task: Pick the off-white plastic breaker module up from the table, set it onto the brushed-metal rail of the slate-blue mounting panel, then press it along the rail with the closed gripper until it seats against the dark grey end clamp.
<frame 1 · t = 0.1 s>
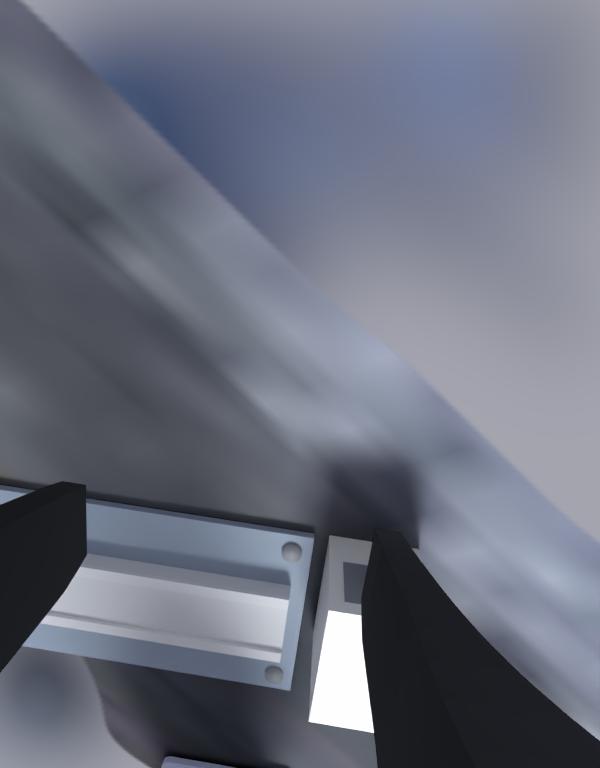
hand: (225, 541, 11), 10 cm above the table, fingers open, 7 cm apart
rail panel: (92, 579, 24), on the table
module: (363, 589, 23), on the table
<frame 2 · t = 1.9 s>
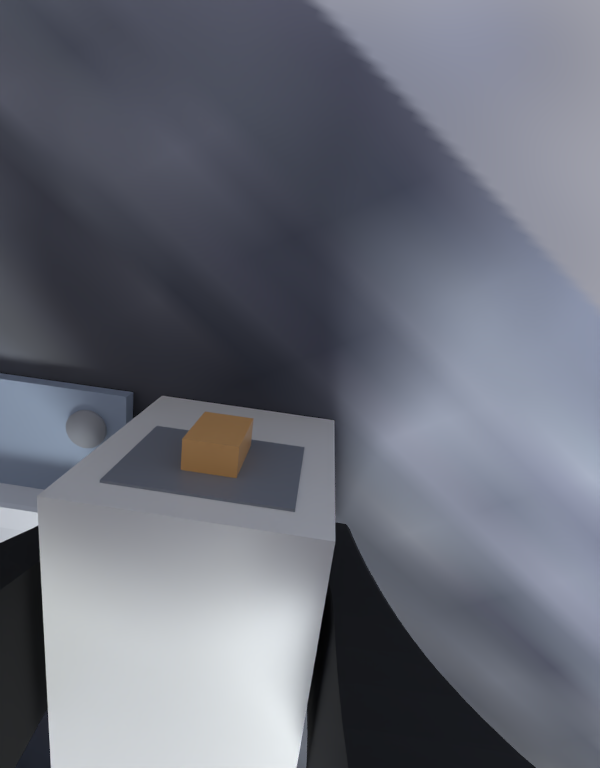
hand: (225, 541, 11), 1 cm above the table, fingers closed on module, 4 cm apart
module: (237, 509, 12), on the table, touching gripper
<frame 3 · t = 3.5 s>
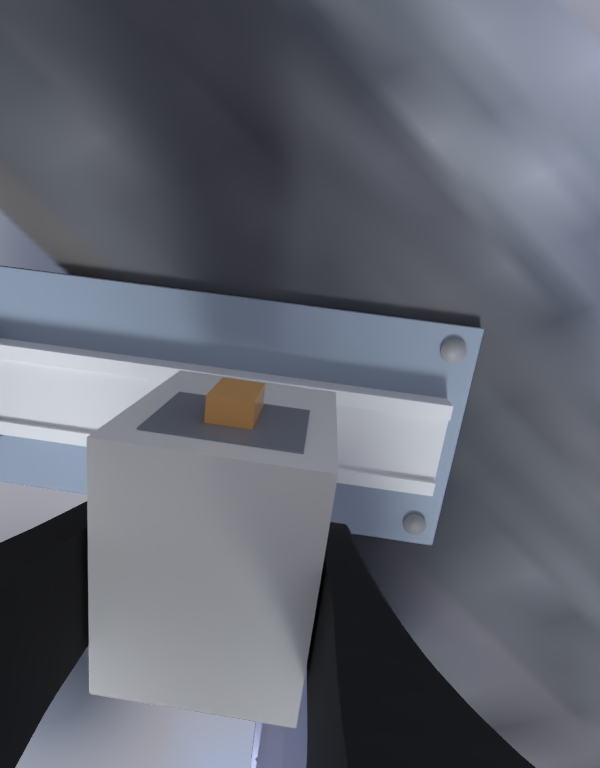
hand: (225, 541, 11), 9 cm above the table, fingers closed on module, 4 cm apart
rail panel: (192, 405, 19), on the table
module: (248, 475, 13), point 6 cm above the table, touching gripper
when the fingers open (4 cm above the table, at t = 4.9 s): module stays where it is, resting on rail panel.
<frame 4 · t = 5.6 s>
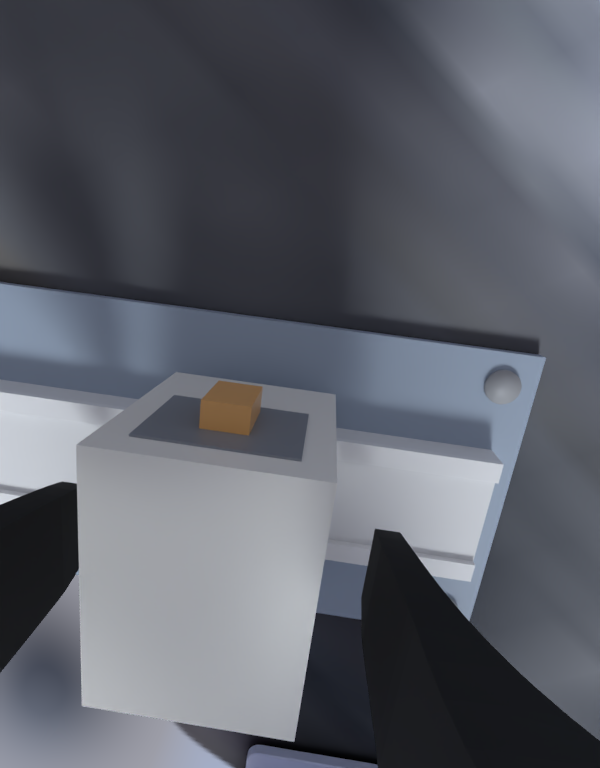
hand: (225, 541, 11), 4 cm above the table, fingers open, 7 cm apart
rail panel: (150, 453, 15), on the table
module: (245, 479, 13), point 1 cm above the table, touching rail panel
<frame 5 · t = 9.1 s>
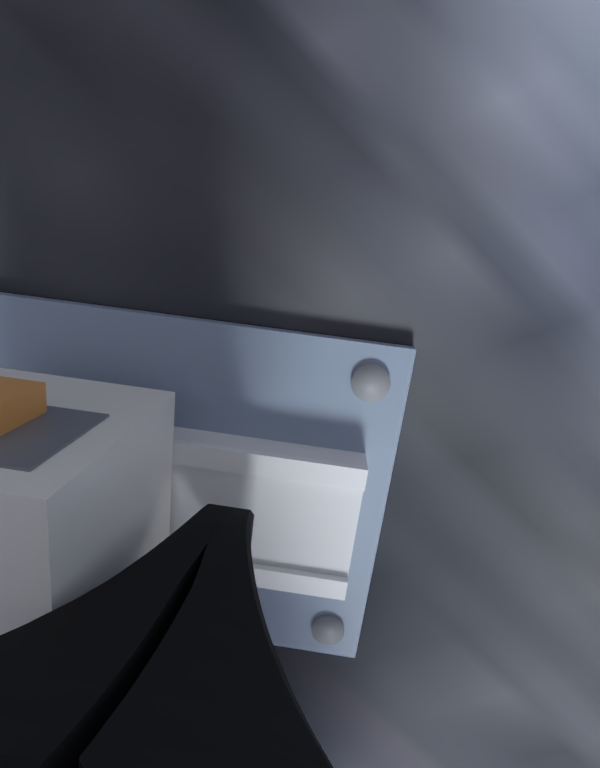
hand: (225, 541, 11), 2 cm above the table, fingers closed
rail panel: (0, 458, 13), on the table
module: (88, 487, 12), point 1 cm above the table, touching gripper, rail panel
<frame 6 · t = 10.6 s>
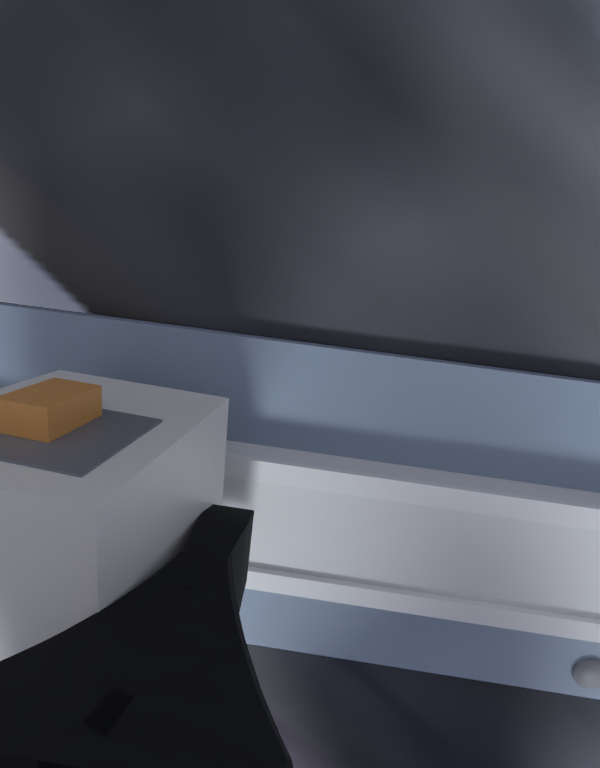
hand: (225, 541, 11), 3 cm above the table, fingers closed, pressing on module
rail panel: (268, 502, 13), on the table
module: (140, 492, 12), point 2 cm above the table, tilted 7°, touching gripper, rail panel
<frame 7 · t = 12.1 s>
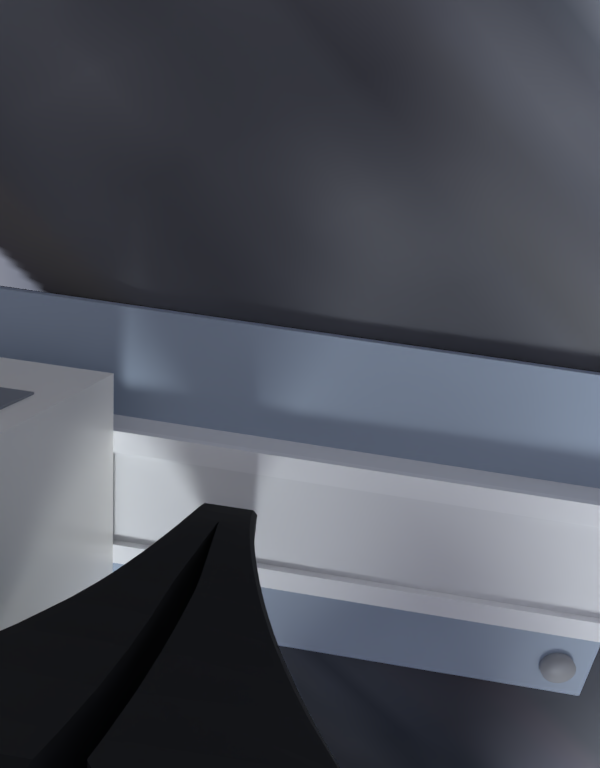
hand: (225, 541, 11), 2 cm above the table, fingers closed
rail panel: (230, 489, 13), on the table
module: (30, 470, 12), point 1 cm above the table, touching rail panel
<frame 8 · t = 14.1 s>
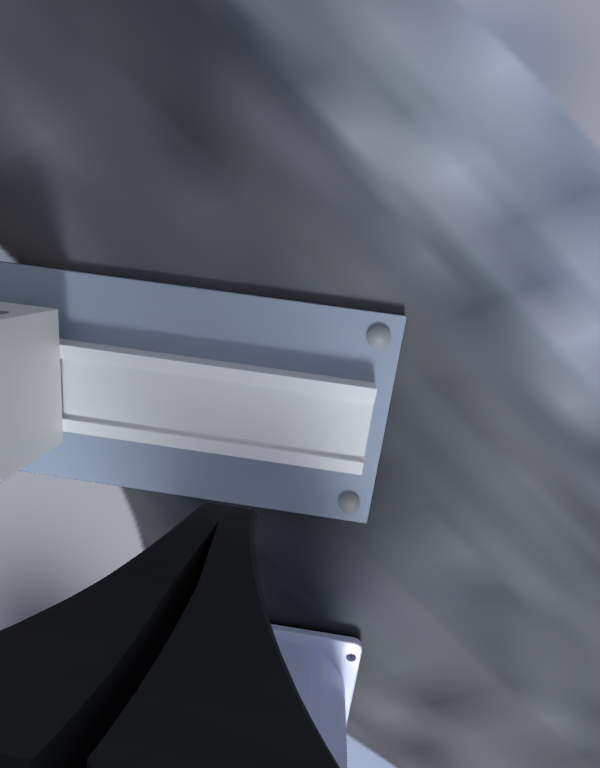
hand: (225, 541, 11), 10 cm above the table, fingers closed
rail panel: (138, 389, 20), on the table
module: (10, 371, 19), point 1 cm above the table, touching rail panel
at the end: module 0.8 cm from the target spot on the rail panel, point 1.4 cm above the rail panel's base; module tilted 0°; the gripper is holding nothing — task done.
